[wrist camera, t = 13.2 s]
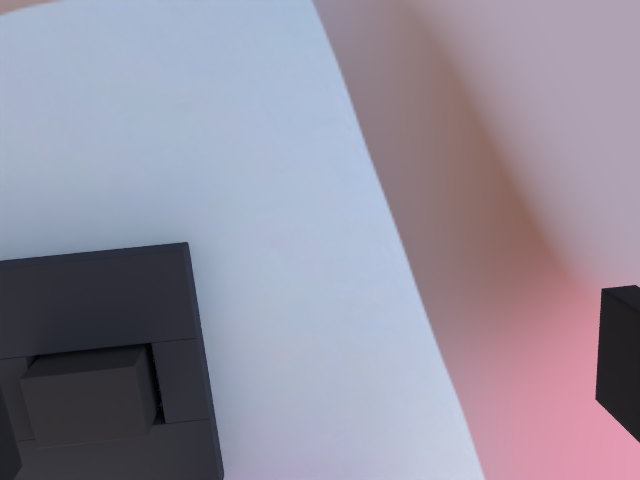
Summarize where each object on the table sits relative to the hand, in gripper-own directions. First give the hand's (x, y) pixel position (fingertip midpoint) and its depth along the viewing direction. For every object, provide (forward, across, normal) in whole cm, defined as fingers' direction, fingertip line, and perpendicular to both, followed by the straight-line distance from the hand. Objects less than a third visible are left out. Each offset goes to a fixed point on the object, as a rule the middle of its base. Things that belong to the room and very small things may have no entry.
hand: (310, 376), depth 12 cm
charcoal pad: (+24, -14, -12) cm, 31 cm away
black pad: (+24, -14, -12) cm, 31 cm away
